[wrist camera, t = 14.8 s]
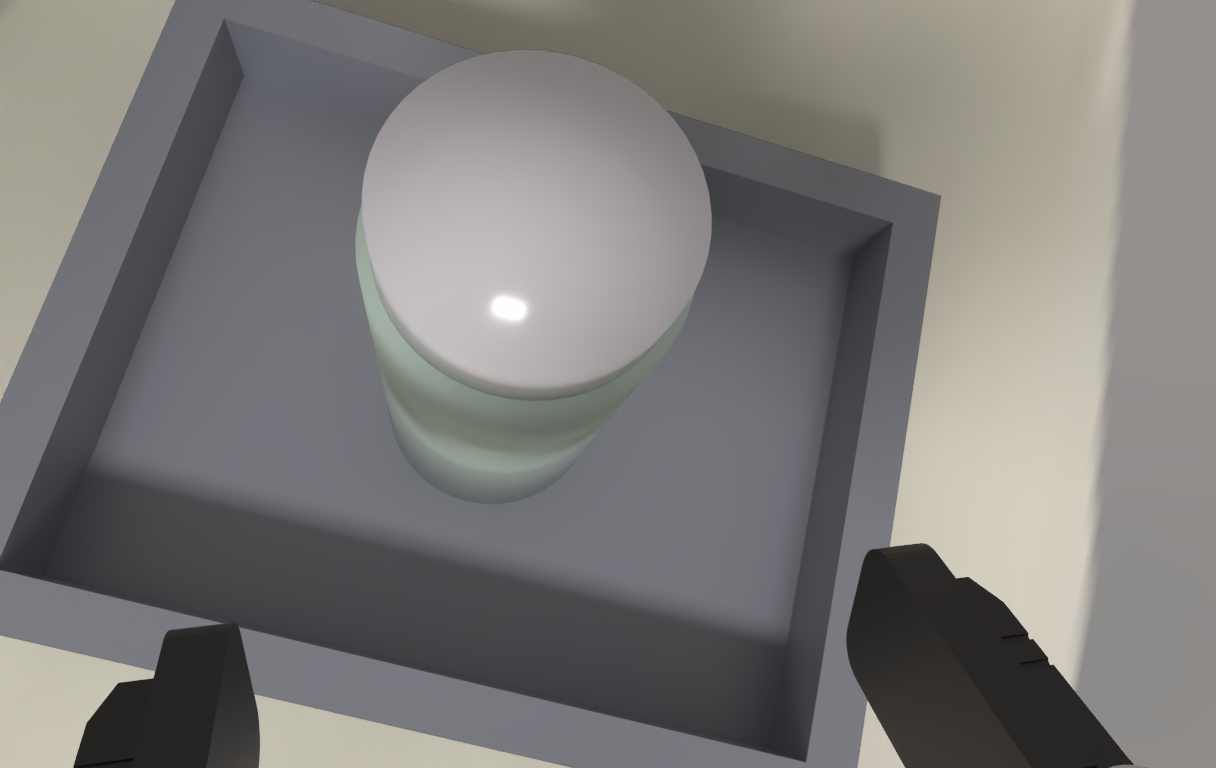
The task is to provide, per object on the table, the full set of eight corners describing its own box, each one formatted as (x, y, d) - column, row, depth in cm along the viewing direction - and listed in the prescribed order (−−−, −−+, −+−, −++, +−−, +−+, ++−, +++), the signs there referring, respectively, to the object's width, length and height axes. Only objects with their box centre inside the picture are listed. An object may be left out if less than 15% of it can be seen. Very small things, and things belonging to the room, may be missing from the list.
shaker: (362, 473, 23) (291, 326, 12) (423, 284, 25) (411, -10, 13) (564, 527, 24) (683, 435, 12) (612, 338, 25) (756, 101, 14)
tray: (-12, 615, 22) (-92, 613, 19) (222, 46, 27) (191, -37, 23) (791, 803, 24) (847, 831, 21) (882, 245, 29) (940, 195, 25)
